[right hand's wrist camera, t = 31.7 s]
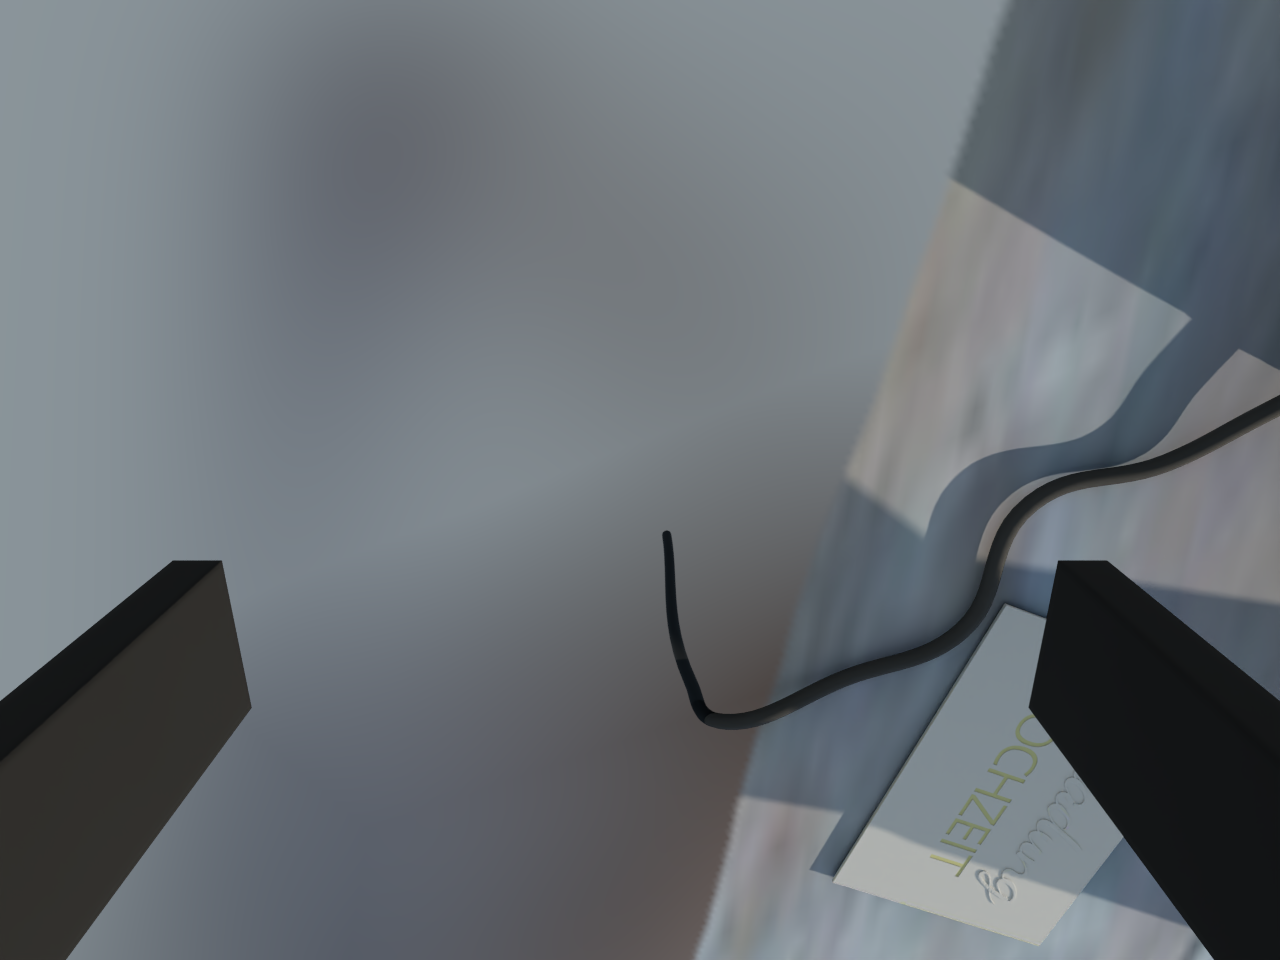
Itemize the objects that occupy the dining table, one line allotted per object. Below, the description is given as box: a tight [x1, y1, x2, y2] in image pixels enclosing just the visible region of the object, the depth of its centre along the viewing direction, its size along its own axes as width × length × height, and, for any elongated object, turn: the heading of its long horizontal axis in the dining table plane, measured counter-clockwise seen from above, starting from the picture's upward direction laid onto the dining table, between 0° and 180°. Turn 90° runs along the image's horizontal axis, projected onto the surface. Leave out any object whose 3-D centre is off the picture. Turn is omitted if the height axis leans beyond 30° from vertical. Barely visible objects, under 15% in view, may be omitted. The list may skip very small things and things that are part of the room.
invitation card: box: [832, 604, 1123, 946], centre depth 48 cm, size 21×1×15 cm
